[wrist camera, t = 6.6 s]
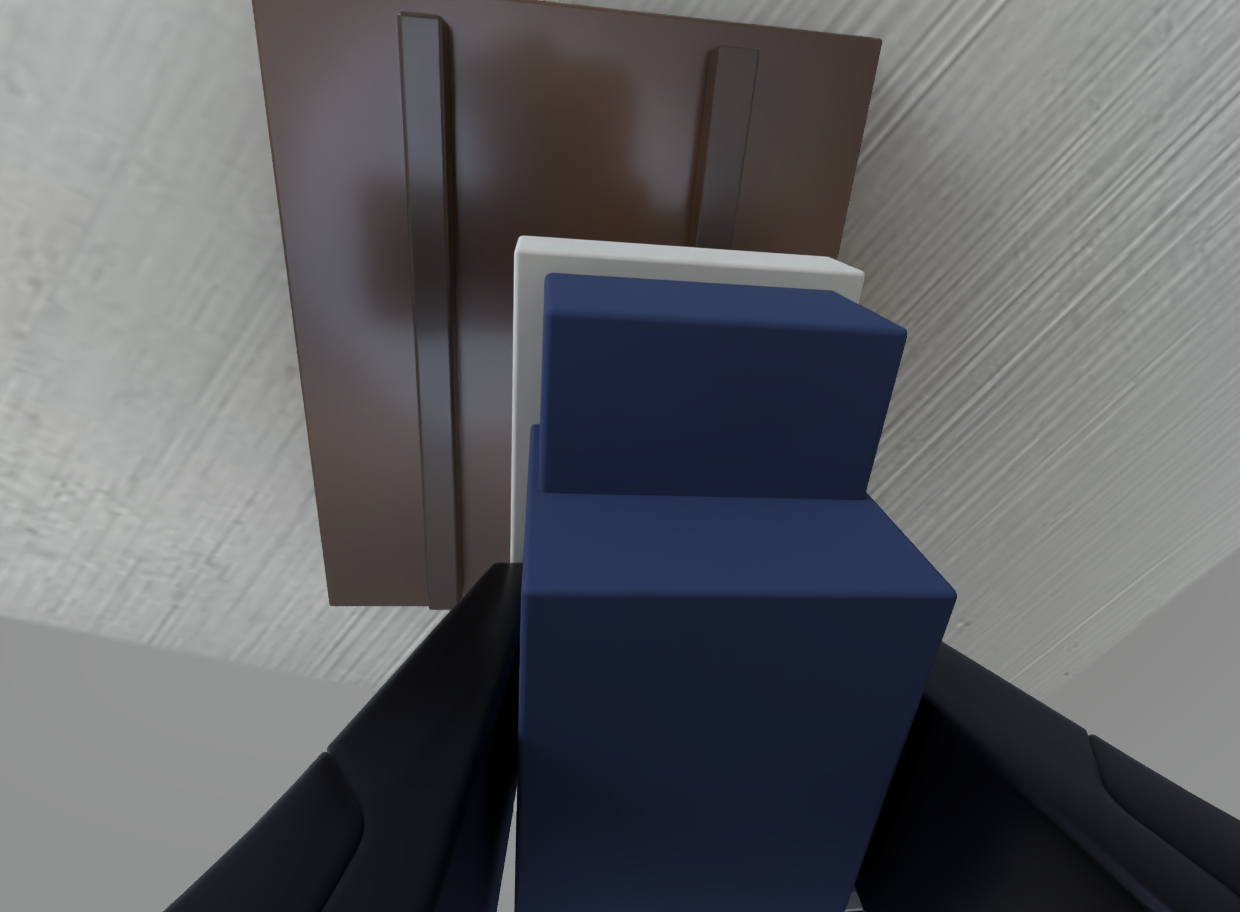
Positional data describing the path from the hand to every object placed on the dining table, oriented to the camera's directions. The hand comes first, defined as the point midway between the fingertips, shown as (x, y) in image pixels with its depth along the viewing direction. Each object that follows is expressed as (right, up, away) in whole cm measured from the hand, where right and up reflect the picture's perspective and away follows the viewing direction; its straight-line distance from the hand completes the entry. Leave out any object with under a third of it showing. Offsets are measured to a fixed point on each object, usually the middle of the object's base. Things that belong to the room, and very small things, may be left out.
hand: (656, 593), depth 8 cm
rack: (-2, +5, +9) cm, 10 cm away
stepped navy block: (0, 0, +1) cm, 1 cm away
